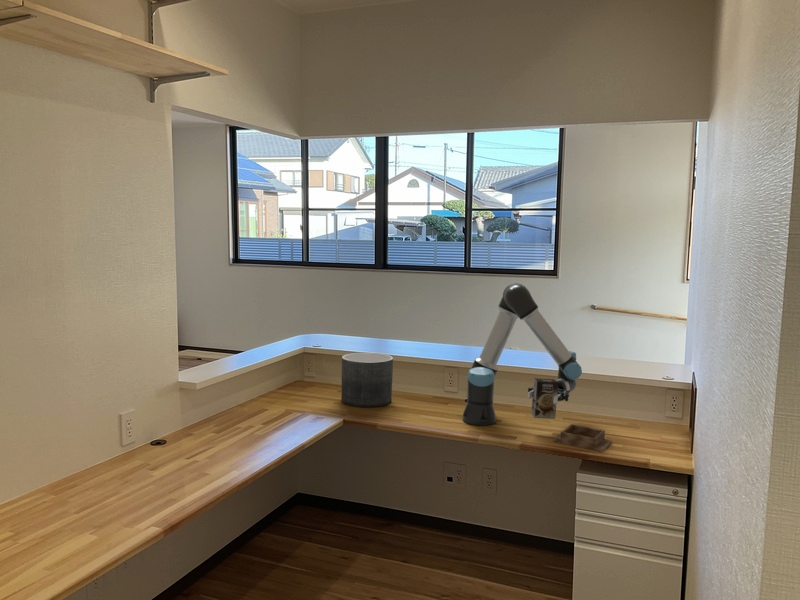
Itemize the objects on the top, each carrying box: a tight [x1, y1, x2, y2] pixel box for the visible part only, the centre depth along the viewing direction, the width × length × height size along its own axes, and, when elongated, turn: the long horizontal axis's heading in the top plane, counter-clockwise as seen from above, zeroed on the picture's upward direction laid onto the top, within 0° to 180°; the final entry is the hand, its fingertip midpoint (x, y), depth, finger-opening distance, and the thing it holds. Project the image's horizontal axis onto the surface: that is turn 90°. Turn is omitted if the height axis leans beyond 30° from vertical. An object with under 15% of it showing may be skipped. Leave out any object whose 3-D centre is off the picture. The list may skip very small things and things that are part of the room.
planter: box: [340, 352, 394, 408], centre depth 302 cm, size 25×25×22 cm
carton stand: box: [552, 424, 613, 453], centre depth 249 cm, size 20×14×4 cm
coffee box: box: [531, 377, 558, 420], centre depth 259 cm, size 9×6×16 cm
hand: (541, 397), depth 255 cm, fingers closed on coffee box, 11 cm apart
